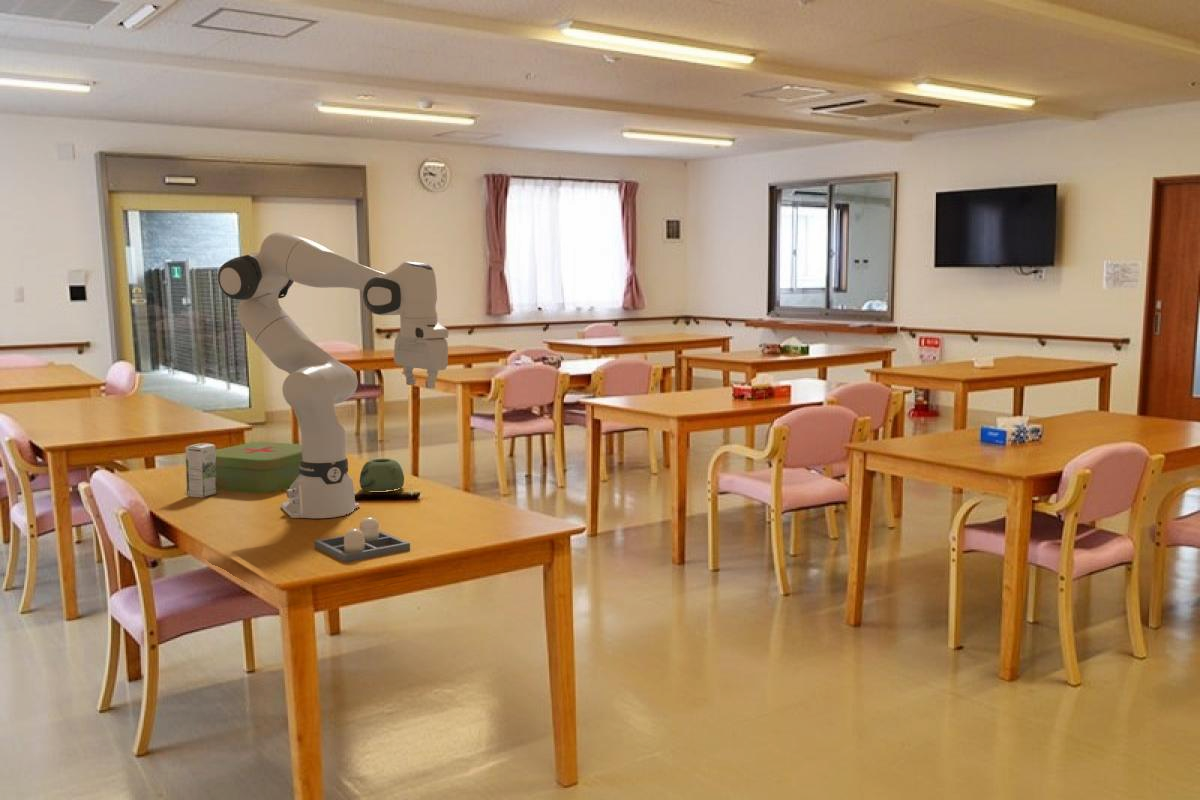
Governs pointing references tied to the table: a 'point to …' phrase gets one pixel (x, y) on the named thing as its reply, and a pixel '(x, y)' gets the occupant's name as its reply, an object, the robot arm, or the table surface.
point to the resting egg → (354, 541)
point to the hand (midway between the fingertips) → (420, 386)
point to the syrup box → (201, 470)
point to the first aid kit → (258, 467)
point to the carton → (372, 547)
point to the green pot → (381, 475)
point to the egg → (369, 528)
